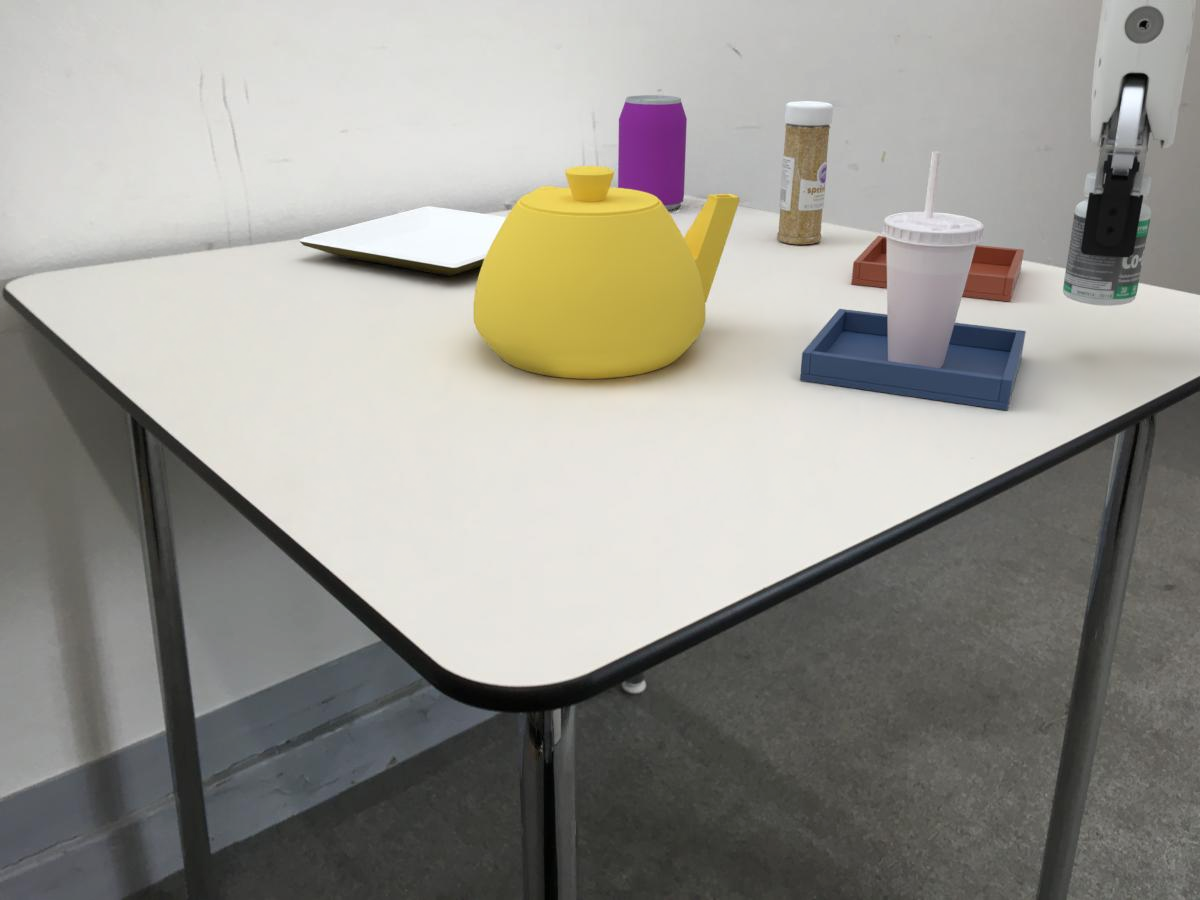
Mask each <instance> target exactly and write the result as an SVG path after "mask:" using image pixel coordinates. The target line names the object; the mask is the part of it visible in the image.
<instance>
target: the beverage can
mask: <svg viewBox="0 0 1200 900" xmlns="http://www.w3.org/2000/svg"><path fill="white" fill-rule="evenodd" d="M687 121H688V119H687V115H686V112H685V109H684V106H683V102H682V98H681V97H680V96H674V95H663V94H662V95H660V94H658V95H657V94H645V95H644V94H643V95H642V94H641V95H629V96H626V97H625V101H624V104H623V107H622V109H621V112H620V115H619V117H618V150H617V151H618V153H617V154H618V158H617V161H618V162H617V164H618V165H617V169H618V170H617V188H624V189H632V190H637V191H642V192H646V193H649V194H652V195H654V196H656V197H657V198H658V199H659V200H660V201H661V202H662V203H663V205H664V206H665V208H666V209H667V210H668V211H673V210H676V209H677V208H678V207H679V206H680V205H681V204H682V203H683V202H684V198H685V197H684V196H685V177H686V154H687V153H686V149H687V123H688V122H687Z"/></svg>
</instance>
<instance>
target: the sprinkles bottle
mask: <svg viewBox="0 0 1200 900" xmlns="http://www.w3.org/2000/svg"><path fill="white" fill-rule="evenodd" d="M784 108H785V109H784V119H783V121H784V123H785V126H784V128H785V133H784V145H783V146H784V147H783V155H782V164H781V165H782V166H781V177H780V178H781V179H780V191H779V192H780V194H779V220H778V230H777V231H778V232H777V233H776V238H777V240H778V241H780V242H782V243H784V244H789V245H795V246H803V245H814V244H817V243H819V242H821V240H822V238H823V237H822V220H823V209H824V207H825V206H824V205H825V204H824V203H825V194H826V184H827V183H826V181H827V170H828V164H827V163H828V150H829V149H828V148H829V140H830V139H829V136H830V129H831V126H830V125H831V124H833V114H834V105H833V104H832V103H830V102H825V101H818V100H817V101H816V100H798V101H790V102H787V103H786V104H785V107H784Z"/></svg>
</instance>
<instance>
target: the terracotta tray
mask: <svg viewBox="0 0 1200 900" xmlns="http://www.w3.org/2000/svg"><path fill="white" fill-rule="evenodd" d="M1024 252H1025V249H1022V248H1011V247H999V246H991V245H990V246H989V245H980V244H976V247H975V251H974V255H973V259H972V263H971V267H970V270H969V273H968V277H967V280H966V284H965V288H964V291H963V295H962V298H963V297H965V298H974V299H983V300H989V301H990V300H991V301H999V302H1000V301H1001V302H1011V300H1012V296H1013V294H1014V291H1015V288H1016V286H1017V282H1018V279H1019V276H1020V273H1021V270H1022V264H1023V259H1024ZM850 283H851V285H855V286H863V287H864V286H865V287H873V288H882V289H883V288H885V289H887V238H886V237H885V236H884V235H876V237H875V238H874V240H873V241H871V242H870V244H869V245H868V246H867V247H866V248H865V249H864V250H863V252H862V253H860V254H859V255H858V257H857V258H856V259H855V260H854V261H853V264H852V275H851V282H850Z"/></svg>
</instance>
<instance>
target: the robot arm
mask: <svg viewBox="0 0 1200 900" xmlns="http://www.w3.org/2000/svg"><path fill="white" fill-rule="evenodd" d="M1196 3H1197V0H1102V1H1101V9H1100V17H1099V24H1098V31H1097V39H1096V47H1095V56H1094V62H1093V63H1094V64H1093V73H1092V85H1091V98H1090V141H1091V142H1092V143H1093V144H1094V145H1095V146H1096V147H1099V149H1098V160H1097V167H1096V172H1097V174H1096V180H1095V187H1094V193H1090V192H1089V199H1088V205H1087V212H1086V218H1085V225H1084V232H1083V238H1082V245H1081V252H1082V253H1083V254H1085V255H1097V256H1112V257H1130V256H1132V254H1133V253H1134V247H1135V242H1136V236H1137V230H1138V224H1139V218H1140V212H1141V207H1142V201H1143V202H1144V200H1143V195H1140V191H1141V185H1142V179H1143V174H1144V171H1145V165H1146V160H1147V154H1148V152H1149V147H1148V146H1149V141H1150V135H1151V136H1152V139H1153V141H1159V145H1160V149H1163V150H1164V149H1168V148H1169V147H1171V146H1172V145H1173V144H1174V143H1175V137H1176V132H1177V131H1176V130H1177V124H1178V118H1179V112H1180V105H1181V99H1182V93H1183V87H1184V81H1185V75H1186V70H1187V64H1188V60H1189V59H1188V58H1189V53H1190V46H1191V41H1192V35H1193V27H1194V20H1195V12H1196V5H1197V4H1196ZM1105 173H1106V176H1105ZM1104 178H1105V182H1104ZM1102 191H1103V193H1102ZM1130 193H1131V194H1130Z"/></svg>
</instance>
